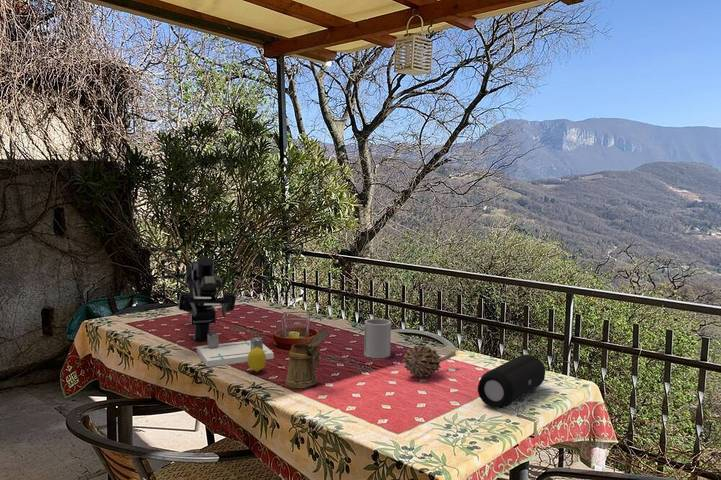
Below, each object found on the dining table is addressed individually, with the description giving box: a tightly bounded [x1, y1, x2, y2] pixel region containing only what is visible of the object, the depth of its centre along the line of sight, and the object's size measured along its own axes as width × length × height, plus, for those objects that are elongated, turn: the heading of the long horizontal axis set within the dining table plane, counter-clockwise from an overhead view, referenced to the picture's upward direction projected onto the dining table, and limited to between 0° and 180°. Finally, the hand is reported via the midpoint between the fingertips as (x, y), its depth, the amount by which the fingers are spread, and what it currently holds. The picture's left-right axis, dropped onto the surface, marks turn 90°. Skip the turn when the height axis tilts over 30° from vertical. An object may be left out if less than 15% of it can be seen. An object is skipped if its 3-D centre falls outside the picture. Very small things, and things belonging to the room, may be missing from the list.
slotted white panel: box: [196, 340, 275, 368], centre depth 182 cm, size 18×22×2 cm
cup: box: [363, 318, 392, 358], centre depth 184 cm, size 9×9×12 cm
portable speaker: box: [477, 353, 546, 409], centre depth 148 cm, size 26×10×10 cm, turn 139°
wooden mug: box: [285, 327, 328, 389], centre depth 154 cm, size 9×14×18 cm, turn 54°
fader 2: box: [250, 337, 264, 350], centre depth 179 cm, size 4×3×4 cm
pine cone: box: [402, 344, 458, 378], centre depth 166 cm, size 22×10×10 cm, turn 133°
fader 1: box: [206, 332, 220, 348], centre depth 184 cm, size 4×3×4 cm
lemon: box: [247, 347, 267, 373], centre depth 165 cm, size 6×6×8 cm
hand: (210, 315), depth 177 cm, fingers open, 9 cm apart
